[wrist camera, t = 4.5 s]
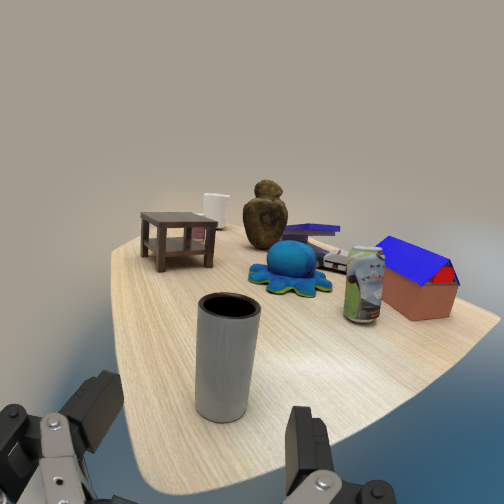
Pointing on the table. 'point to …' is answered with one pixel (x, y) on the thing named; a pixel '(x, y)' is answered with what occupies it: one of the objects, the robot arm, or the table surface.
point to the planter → (225, 354)
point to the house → (417, 280)
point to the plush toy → (290, 270)
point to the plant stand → (178, 244)
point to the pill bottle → (198, 232)
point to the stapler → (308, 234)
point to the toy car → (333, 260)
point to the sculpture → (265, 215)
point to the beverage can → (364, 283)
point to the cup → (216, 208)
